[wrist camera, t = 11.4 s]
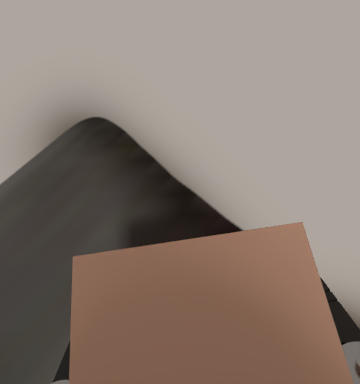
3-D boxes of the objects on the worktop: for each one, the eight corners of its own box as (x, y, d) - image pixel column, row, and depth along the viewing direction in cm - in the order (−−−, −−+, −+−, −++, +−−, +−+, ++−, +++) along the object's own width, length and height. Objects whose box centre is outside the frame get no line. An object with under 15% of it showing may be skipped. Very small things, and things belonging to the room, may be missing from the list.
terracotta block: (162, 413, 12) (63, 594, 4) (152, 292, 14) (72, 256, 6) (278, 399, 12) (410, 562, 4) (251, 278, 14) (302, 222, 6)
